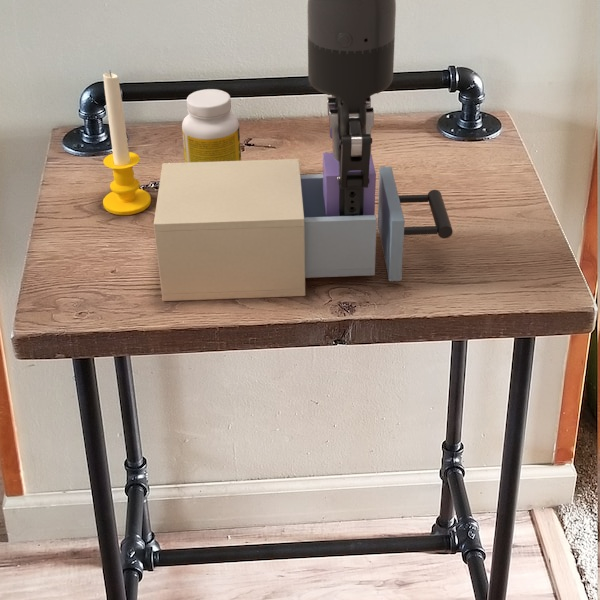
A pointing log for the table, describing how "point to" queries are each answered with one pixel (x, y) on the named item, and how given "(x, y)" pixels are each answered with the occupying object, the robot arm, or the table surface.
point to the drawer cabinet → (230, 230)
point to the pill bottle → (210, 128)
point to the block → (333, 187)
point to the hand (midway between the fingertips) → (348, 202)
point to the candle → (121, 158)
